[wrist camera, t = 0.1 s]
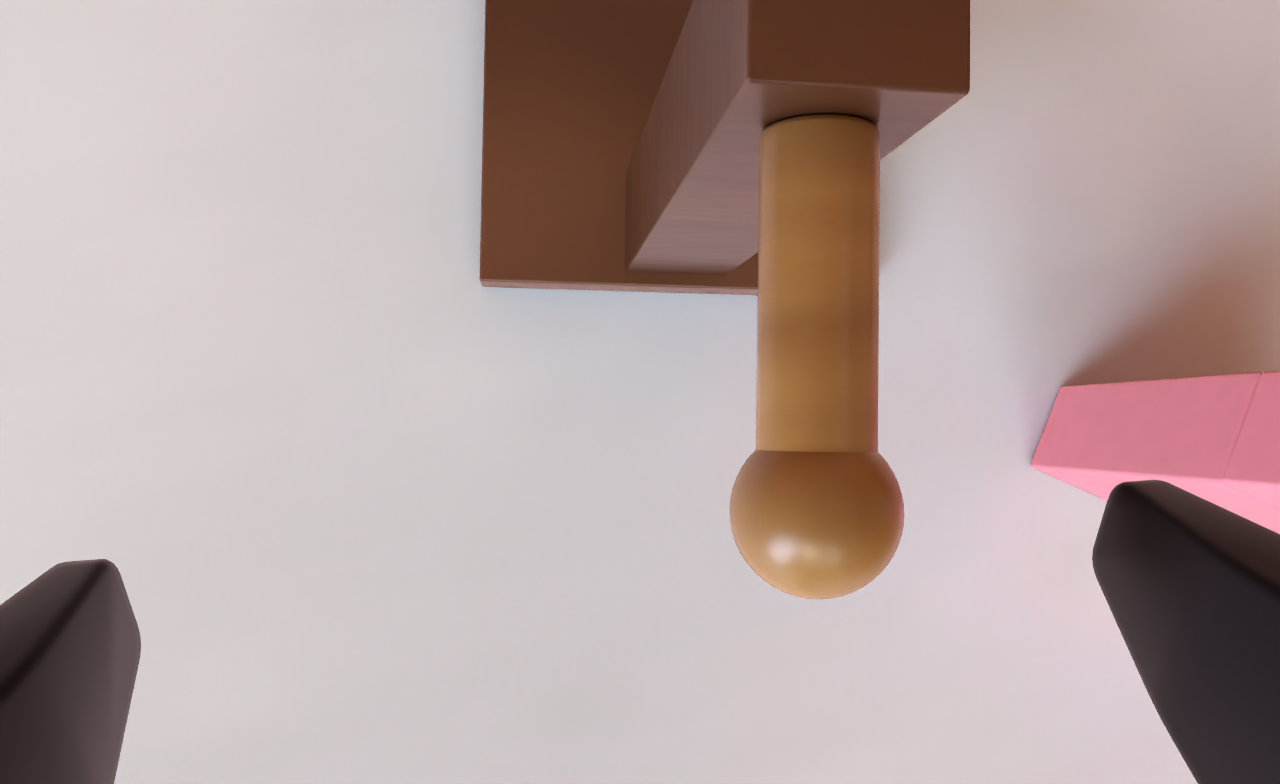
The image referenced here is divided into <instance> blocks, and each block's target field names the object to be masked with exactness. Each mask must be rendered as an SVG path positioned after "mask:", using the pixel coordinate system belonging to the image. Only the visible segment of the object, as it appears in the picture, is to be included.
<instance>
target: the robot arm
mask: <svg viewBox="0 0 1280 784" xmlns="http://www.w3.org/2000/svg"><path fill="white" fill-rule="evenodd" d="M1092 560H1093V568H1094V572H1095V575H1096V578H1097V580H1098V582H1099V585H1100V587H1101V589H1102V591H1103V593H1104V596H1105V598H1106V600H1107V602H1108V605H1109V607H1110V609H1111V611H1112V614H1113V616H1114V618H1115V620H1116V622H1117V625H1118V627H1119V629H1120V631H1121V634H1122V636H1123V638H1124V640H1125V642H1126V645H1127V647H1128V649H1129V651H1130V654H1131V656H1132V658H1133V660H1134V663H1135V665H1136V667H1137V669H1138V671H1139V674H1140V676H1141V678H1142V680H1143V683H1144V685H1145V687H1146V689H1147V692H1148V694H1149V696H1150V698H1151V700H1152V702H1153V704H1154V706H1155V708H1156V710H1157V712H1158V714H1159V716H1160V718H1161V720H1162V721H1163V723H1164V725H1165V727H1166V729H1167V731H1168V732H1169V734H1170V736H1171V738H1172V740H1173V741H1174V743H1175V745H1176V747H1177V748H1178V750H1179V752H1180V754H1181V755H1182V757H1183V759H1184V760H1185V762H1186V764H1187V766H1188V767H1189V769H1190V771H1191V772H1192V774H1193V776H1194V778H1195V779H1196V781H1197V783H1198V784H1280V534H1278V533H1276V532H1274V531H1272V530H1269V529H1267V528H1265V527H1263V526H1261V525H1259V524H1256V523H1254V522H1252V521H1250V520H1248V519H1246V518H1244V517H1241V516H1239V515H1237V514H1235V513H1233V512H1231V511H1228V510H1226V509H1224V508H1222V507H1220V506H1218V505H1215V504H1213V503H1211V502H1209V501H1207V500H1205V499H1202V498H1200V497H1198V496H1196V495H1194V494H1192V493H1189V492H1187V491H1185V490H1183V489H1181V488H1179V487H1176V486H1174V485H1172V484H1170V483H1168V482H1165V481H1162V480H1142V481H1129V482H1122V483H1120V484H1118V485H1116V486H1115V487H1114V488H1113V490H1112V491H1111V492H1110V495H1109V497H1108V501H1107V504H1106V507H1105V511H1104V514H1103V517H1102V521H1101V524H1100V527H1099V531H1098V534H1097V538H1096V541H1095V544H1094V548H1093V557H1092ZM140 651H141V639H140V632H139V628H138V625H137V622H136V619H135V616H134V613H133V610H132V607H131V604H130V602H129V599H128V596H127V593H126V590H125V587H124V584H123V581H122V578H121V575H120V573H119V571H118V569H117V567H116V566H115V565H114V563H112V562H110V561H108V560H106V559H98V560H84V561H71V562H63V563H60V564H57V565H55V566H54V567H52V568H51V569H49V570H48V571H46V572H45V573H44V574H42V575H41V576H40V577H38V578H37V579H35V580H34V581H33V582H31V583H30V584H29V585H27V586H26V587H25V588H23V589H22V590H20V591H19V592H18V593H16V594H15V595H14V596H12V597H11V598H9V599H8V600H7V601H5V602H4V603H3V604H1V605H0V784H114V781H115V776H116V771H117V766H118V761H119V756H120V752H121V747H122V742H123V737H124V732H125V727H126V722H127V718H128V713H129V708H130V703H131V698H132V693H133V689H134V684H135V679H136V674H137V669H138V664H139V659H140Z"/></svg>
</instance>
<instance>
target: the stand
mask: <svg viewBox="0 0 1280 784" xmlns="http://www.w3.org/2000/svg"><path fill="white" fill-rule="evenodd" d="M969 90H970V0H486V5H485V52H484V100H483V147H482V195H481V242H480V281H481V284H482V286H484V287H510V288H543V289H576V290H609V291H642V292H675V293H708V294H741V295H758V314H757V401H756V450H755V451H754V452H753V453H752V454H751V455H750V457H749V458H748V459H747V460H746V462H745V463H744V465H743V466H742V468H741V470H740V472H739V474H738V476H737V478H736V480H735V483H734V486H733V489H732V494H731V499H730V522H731V528H732V533H733V536H734V539H735V542H736V545H737V547H738V549H739V551H740V553H741V555H742V556H743V558H744V559H745V561H746V562H747V564H748V565H749V566H750V567H751V568H752V570H753V571H754V572H755V573H756V574H757V575H758V576H760V577H761V578H762V579H763V580H764V581H765V582H767V583H768V584H770V585H771V586H773V587H775V588H777V589H779V590H781V591H783V592H785V593H788V594H791V595H794V596H797V597H802V598H807V599H828V598H835V597H840V596H844V595H847V594H850V593H852V592H854V591H856V590H858V589H860V588H862V587H864V586H865V585H867V584H868V583H870V582H871V581H872V580H873V579H875V578H876V577H877V576H878V575H879V574H880V573H881V572H882V571H883V570H884V568H885V567H886V566H887V565H888V563H889V562H890V560H891V559H892V557H893V556H894V554H895V552H896V549H897V547H898V545H899V542H900V539H901V536H902V530H903V525H904V504H903V499H902V494H901V490H900V487H899V484H898V481H897V479H896V477H895V475H894V473H893V471H892V469H891V468H890V466H889V465H888V463H887V462H886V461H885V459H884V458H883V457H882V456H881V455H880V454H879V453H878V331H879V195H880V160H881V159H882V158H883V157H885V156H886V155H887V154H889V153H890V152H891V151H893V150H894V149H895V148H897V147H898V146H899V145H901V144H902V143H903V142H905V141H906V140H907V139H909V138H910V137H911V136H913V135H914V134H915V133H916V132H918V131H919V130H920V129H922V128H923V127H924V126H926V125H927V124H928V123H930V122H931V121H932V120H934V119H935V118H936V117H938V116H939V115H940V114H942V113H943V112H944V111H946V110H947V109H948V108H950V107H951V106H952V105H954V104H955V103H956V102H958V101H959V100H960V99H962V98H963V97H964V96H966V95H967V94H968V92H969Z"/></svg>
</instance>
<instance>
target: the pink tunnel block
mask: <svg viewBox="0 0 1280 784" xmlns="http://www.w3.org/2000/svg"><path fill="white" fill-rule="evenodd" d="M1031 467H1032V468H1034V469H1037V470H1039V471H1041V472H1043V473H1046V474H1048V475H1050V476H1053V477H1055V478H1057V479H1059V480H1062V481H1064V482H1066V483H1069V484H1071V485H1073V486H1075V487H1078V488H1080V489H1082V490H1085V491H1087V492H1089V493H1091V494H1094V495H1096V496H1098V497H1101V498H1103V499H1105V500H1107V501H1108V497H1109V495H1110V492H1111V491H1112V490H1113V488H1114V487H1115V486H1116V485H1118V484H1120V483H1122V482H1129V481H1142V480H1162V481H1165V482H1168V483H1170V484H1172V485H1174V486H1176V487H1179V488H1181V489H1183V490H1185V491H1187V492H1189V493H1192V494H1194V495H1196V496H1198V497H1200V498H1202V499H1205V500H1207V501H1209V502H1211V503H1213V504H1215V505H1218V506H1220V507H1222V508H1224V509H1226V510H1228V511H1231V512H1233V513H1235V514H1237V515H1239V516H1241V517H1244V518H1246V519H1248V520H1250V521H1252V522H1254V523H1256V524H1259V525H1261V526H1263V527H1265V528H1267V529H1269V530H1272V531H1274V532H1276V533H1278V534H1280V371H1272V372H1264V373H1262V372H1253V373H1239V374H1226V375H1212V376H1198V377H1184V378H1171V379H1157V380H1143V381H1130V382H1116V383H1102V384H1088V385H1075V386H1062V387H1061V388H1060V389H1059V392H1058V394H1057V397H1056V400H1055V402H1054V405H1053V407H1052V410H1051V413H1050V415H1049V418H1048V420H1047V423H1046V425H1045V428H1044V431H1043V433H1042V436H1041V438H1040V441H1039V443H1038V446H1037V449H1036V451H1035V454H1034V456H1033V459H1032V462H1031Z"/></svg>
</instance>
